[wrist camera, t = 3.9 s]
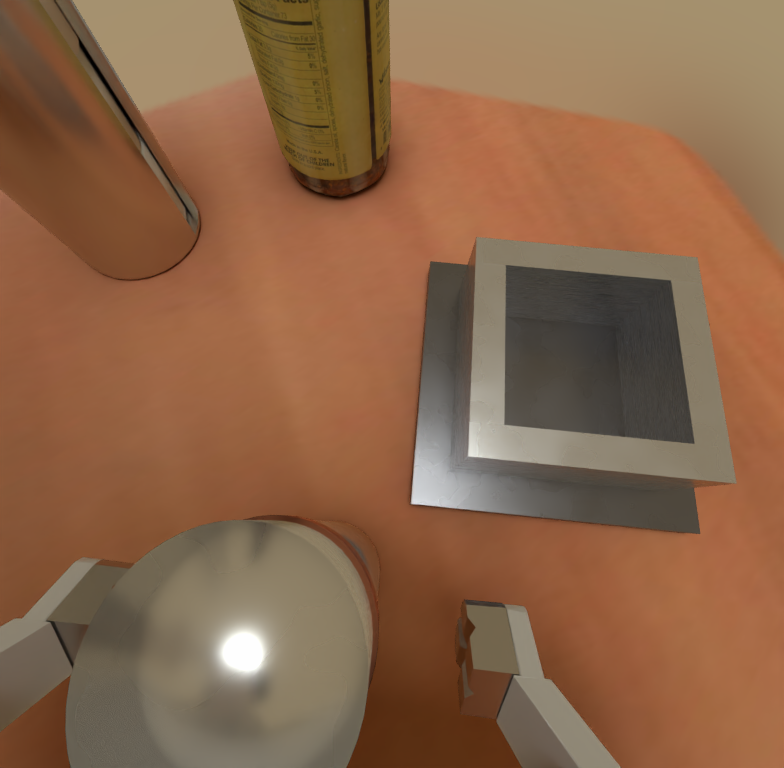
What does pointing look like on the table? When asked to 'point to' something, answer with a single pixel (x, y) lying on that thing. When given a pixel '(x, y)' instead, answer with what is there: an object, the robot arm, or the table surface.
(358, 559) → the cylinder
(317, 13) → the sauce bottle
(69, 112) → the silver piece
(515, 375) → the collar
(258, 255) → the table surface
